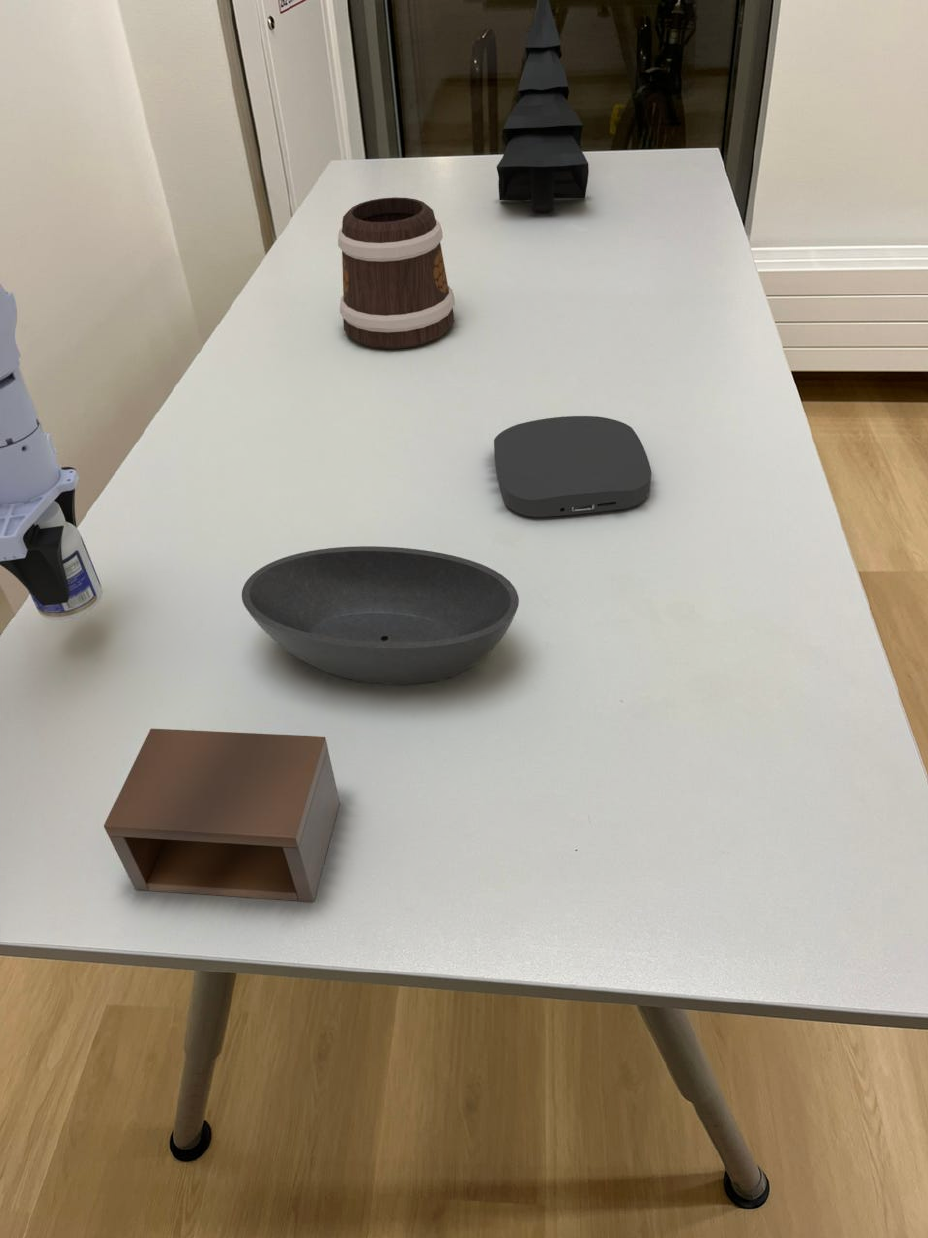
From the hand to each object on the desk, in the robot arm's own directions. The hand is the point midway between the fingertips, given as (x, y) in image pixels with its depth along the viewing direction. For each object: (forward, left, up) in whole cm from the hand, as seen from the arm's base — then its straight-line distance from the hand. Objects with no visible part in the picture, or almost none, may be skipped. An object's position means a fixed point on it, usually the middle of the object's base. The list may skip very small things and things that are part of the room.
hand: (61, 579), depth 77 cm
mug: (+34, +58, -7) cm, 67 cm away
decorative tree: (+63, +100, -7) cm, 118 cm away
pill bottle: (0, 0, -3) cm, 3 cm away
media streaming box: (+46, +15, -7) cm, 49 cm away
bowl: (+25, -7, -7) cm, 27 cm away
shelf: (+13, -24, -7) cm, 28 cm away
